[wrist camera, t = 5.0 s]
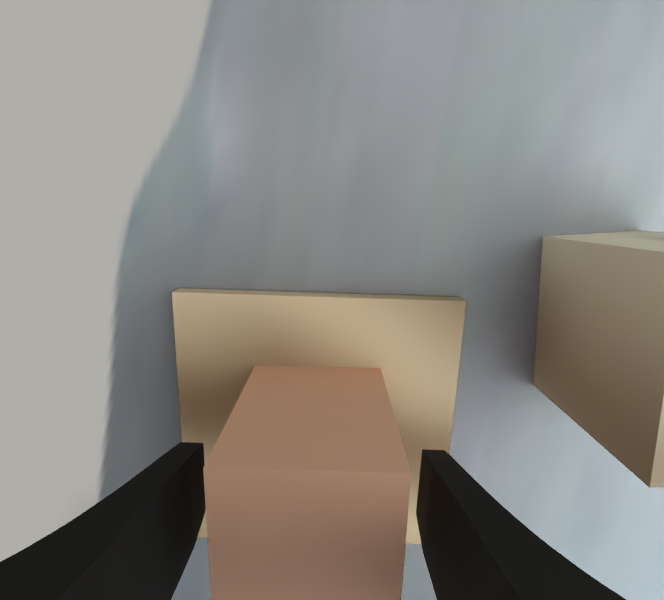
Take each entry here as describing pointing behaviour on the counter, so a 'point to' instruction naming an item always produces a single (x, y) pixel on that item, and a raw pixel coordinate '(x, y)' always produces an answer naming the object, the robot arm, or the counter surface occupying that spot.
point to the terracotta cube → (308, 489)
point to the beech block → (606, 341)
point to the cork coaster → (320, 357)
